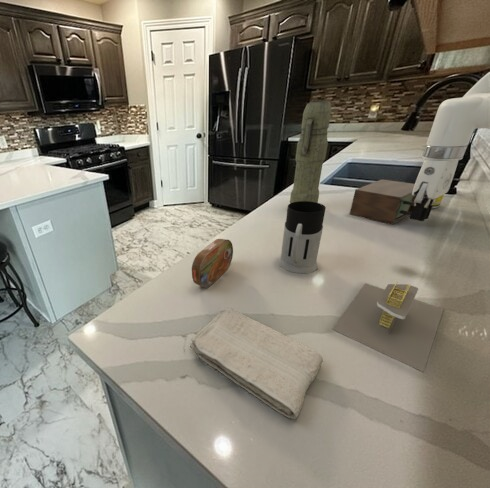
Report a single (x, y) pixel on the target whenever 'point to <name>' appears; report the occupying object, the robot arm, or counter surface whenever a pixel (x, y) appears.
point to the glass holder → (302, 236)
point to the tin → (212, 262)
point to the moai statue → (311, 151)
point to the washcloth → (259, 360)
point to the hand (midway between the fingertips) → (418, 218)
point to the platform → (392, 322)
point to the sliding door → (405, 206)
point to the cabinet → (381, 200)
